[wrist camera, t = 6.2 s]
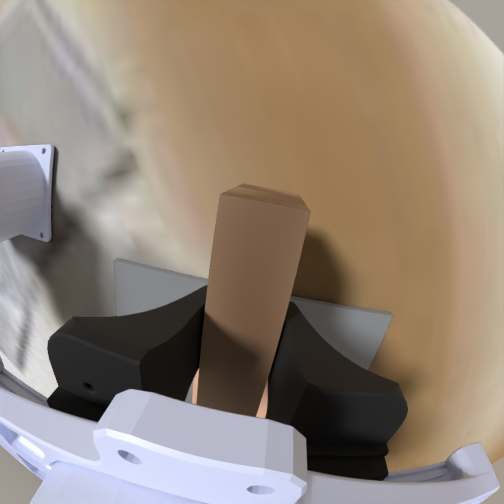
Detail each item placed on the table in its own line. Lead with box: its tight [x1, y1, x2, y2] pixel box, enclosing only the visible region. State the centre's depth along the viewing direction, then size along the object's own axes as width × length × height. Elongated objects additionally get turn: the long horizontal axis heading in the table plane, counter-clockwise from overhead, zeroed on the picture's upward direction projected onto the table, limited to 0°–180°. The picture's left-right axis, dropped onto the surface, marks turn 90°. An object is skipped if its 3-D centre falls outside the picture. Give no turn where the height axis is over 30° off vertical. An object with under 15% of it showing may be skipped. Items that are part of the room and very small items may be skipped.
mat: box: [114, 258, 393, 419], centre depth 20 cm, size 20×16×1 cm
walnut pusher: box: [196, 184, 311, 417], centre depth 11 cm, size 2×10×5 cm, turn 170°
